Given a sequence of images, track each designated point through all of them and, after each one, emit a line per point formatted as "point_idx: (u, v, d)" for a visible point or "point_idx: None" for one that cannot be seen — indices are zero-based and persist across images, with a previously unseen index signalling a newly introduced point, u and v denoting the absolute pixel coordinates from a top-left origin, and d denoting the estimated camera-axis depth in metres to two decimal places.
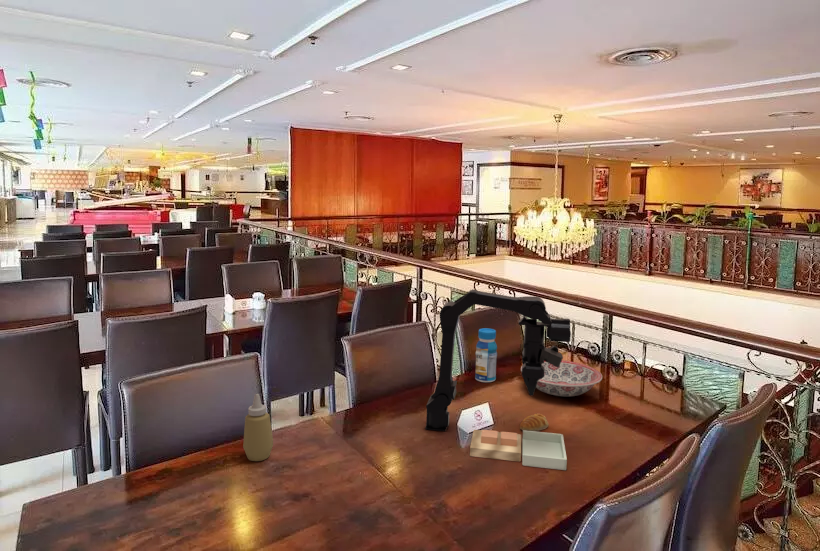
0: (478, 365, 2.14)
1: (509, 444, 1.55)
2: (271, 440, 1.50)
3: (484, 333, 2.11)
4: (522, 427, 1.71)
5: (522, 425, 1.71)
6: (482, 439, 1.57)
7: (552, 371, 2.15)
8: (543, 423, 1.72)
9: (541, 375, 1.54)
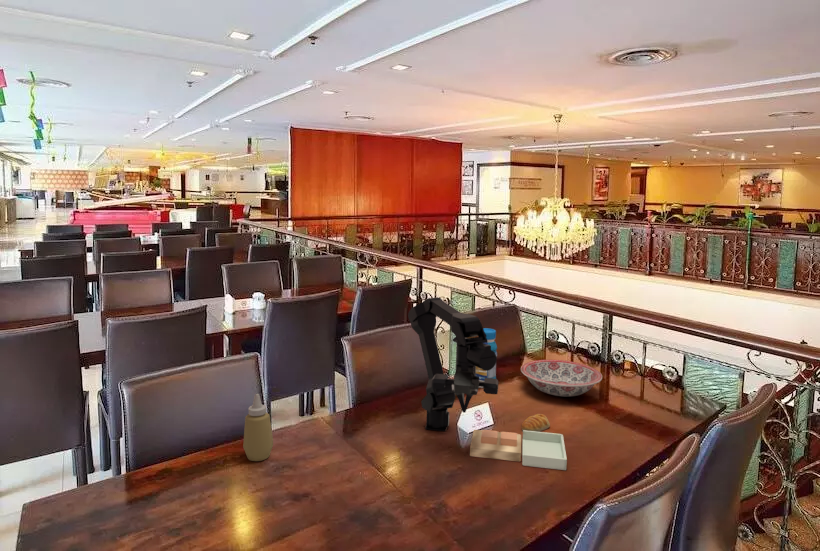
0: None
1: (509, 444, 1.55)
2: (271, 440, 1.50)
3: None
4: (524, 428, 1.70)
5: (524, 425, 1.71)
6: (482, 439, 1.57)
7: (552, 371, 2.15)
8: (545, 423, 1.72)
9: (431, 385, 1.57)
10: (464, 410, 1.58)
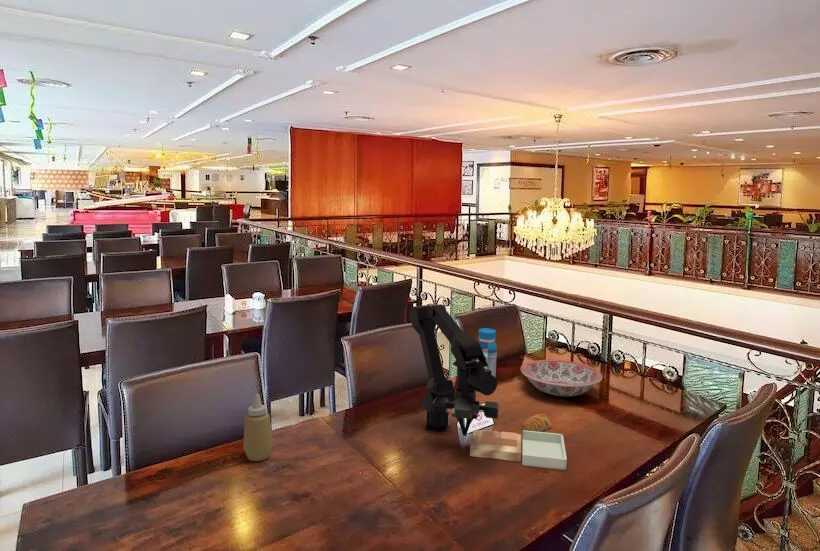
0: None
1: (509, 444, 1.55)
2: (271, 440, 1.50)
3: (484, 333, 2.11)
4: (525, 428, 1.70)
5: (525, 426, 1.70)
6: (482, 439, 1.57)
7: (552, 371, 2.15)
8: (546, 424, 1.72)
9: (432, 409, 1.58)
10: (465, 433, 1.59)
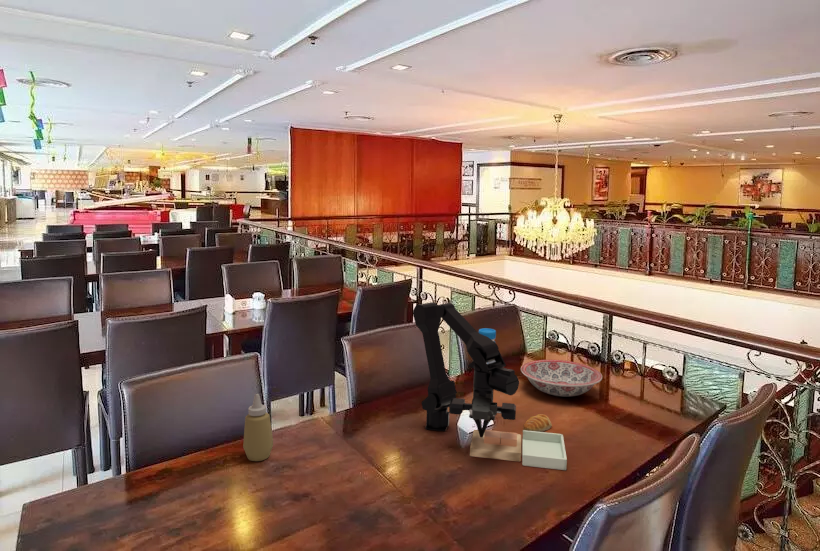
0: None
1: (509, 444, 1.55)
2: (271, 440, 1.50)
3: (484, 333, 2.11)
4: (526, 428, 1.70)
5: (526, 426, 1.70)
6: (485, 439, 1.56)
7: (552, 371, 2.15)
8: (547, 424, 1.71)
9: (449, 410, 1.57)
10: (481, 435, 1.58)
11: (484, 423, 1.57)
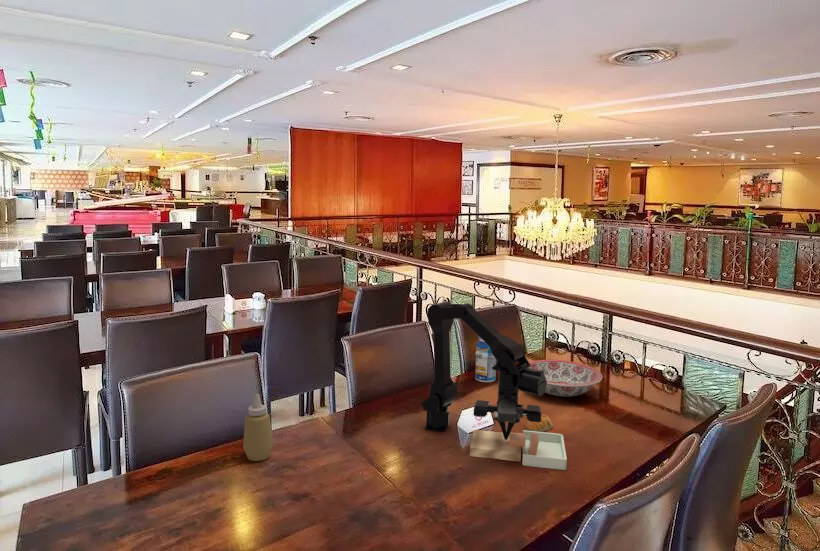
0: (478, 365, 2.14)
1: (531, 448, 1.54)
2: (271, 440, 1.50)
3: None
4: (527, 429, 1.70)
5: (527, 426, 1.70)
6: (510, 442, 1.55)
7: (552, 371, 2.15)
8: (548, 424, 1.71)
9: None
10: (506, 437, 1.57)
11: (509, 425, 1.55)
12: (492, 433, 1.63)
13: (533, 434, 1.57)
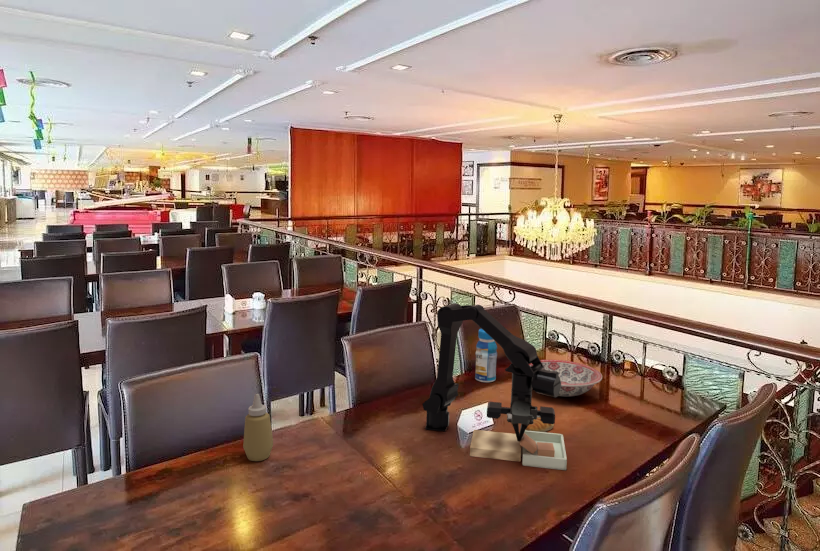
0: (478, 365, 2.14)
1: (545, 451, 1.53)
2: (271, 440, 1.50)
3: (484, 333, 2.11)
4: (529, 429, 1.69)
5: (528, 427, 1.70)
6: (523, 442, 1.55)
7: None
8: (549, 424, 1.71)
9: None
10: (519, 439, 1.56)
11: (522, 427, 1.55)
12: (492, 433, 1.63)
13: None
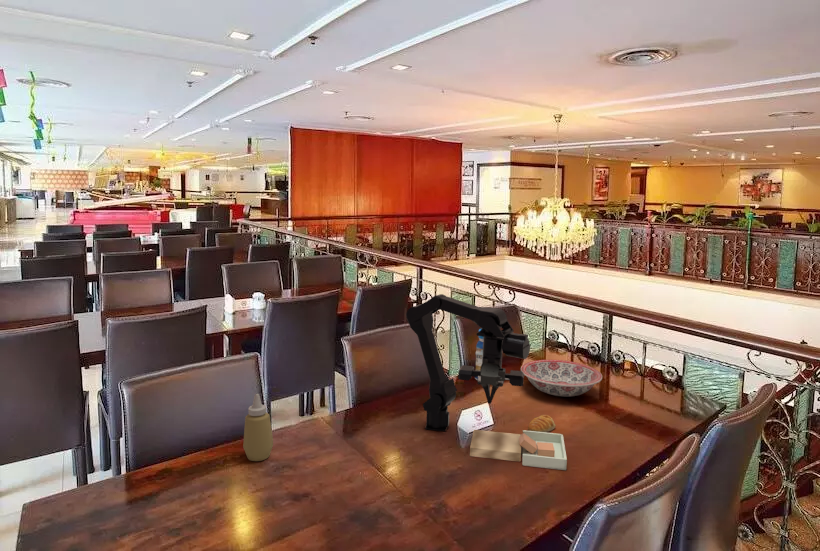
0: (478, 365, 2.14)
1: (545, 451, 1.53)
2: (271, 440, 1.50)
3: None
4: (531, 430, 1.69)
5: (531, 427, 1.69)
6: (523, 442, 1.55)
7: (552, 371, 2.15)
8: (551, 424, 1.71)
9: (458, 376, 1.61)
10: (490, 401, 1.61)
11: (492, 389, 1.60)
12: (492, 433, 1.63)
13: None
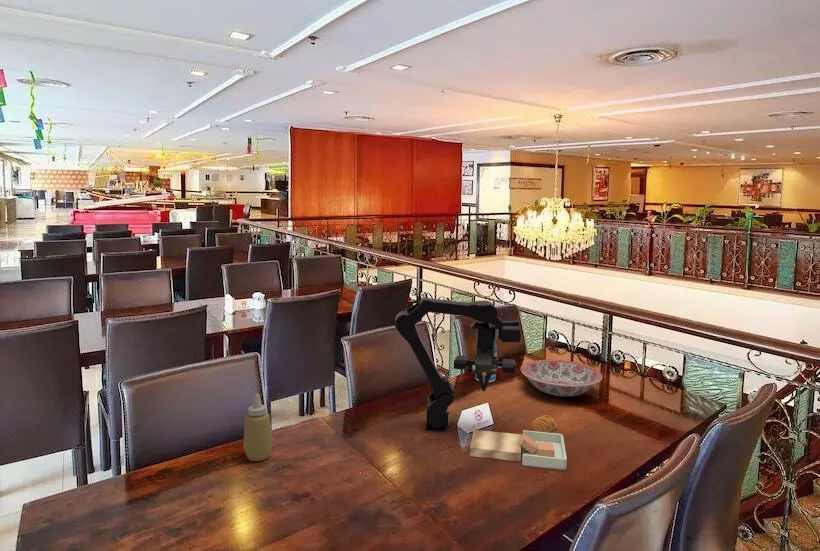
0: None
1: (545, 451, 1.53)
2: (271, 440, 1.50)
3: None
4: (533, 430, 1.69)
5: (532, 428, 1.69)
6: (523, 442, 1.55)
7: (552, 371, 2.15)
8: (552, 425, 1.71)
9: None
10: (484, 389, 1.70)
11: (486, 377, 1.69)
12: (492, 433, 1.63)
13: None
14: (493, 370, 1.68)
